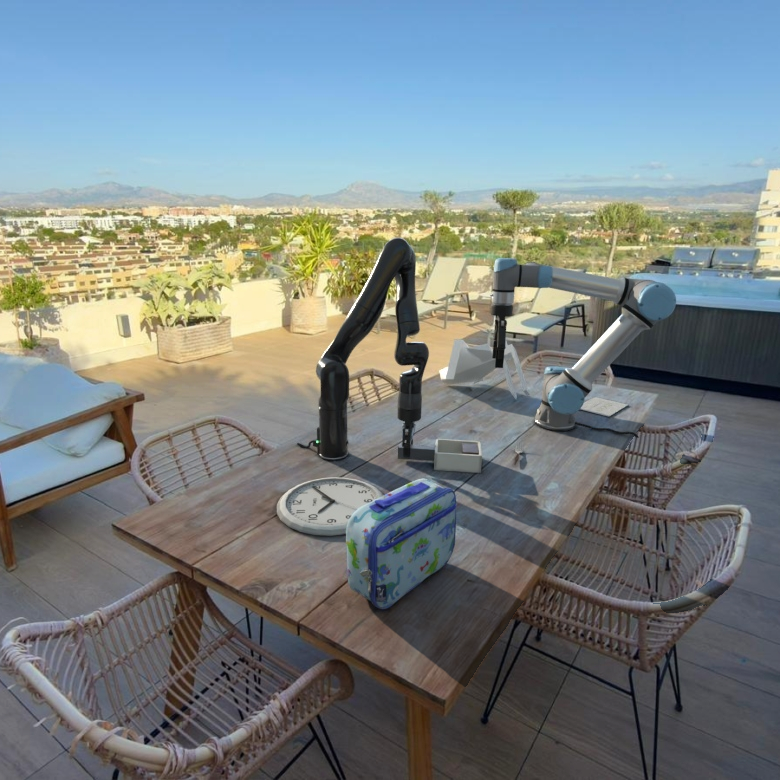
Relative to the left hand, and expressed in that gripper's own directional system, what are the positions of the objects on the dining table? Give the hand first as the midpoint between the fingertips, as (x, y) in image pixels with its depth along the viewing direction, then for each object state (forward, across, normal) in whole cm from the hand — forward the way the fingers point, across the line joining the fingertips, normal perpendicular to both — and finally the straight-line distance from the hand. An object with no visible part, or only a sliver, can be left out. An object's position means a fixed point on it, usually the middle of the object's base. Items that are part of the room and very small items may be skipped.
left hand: (408, 451), depth 170 cm
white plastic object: (+3, -80, +25) cm, 84 cm away
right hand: (-24, -31, +28) cm, 48 cm away
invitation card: (+2, -69, +77) cm, 103 cm away
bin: (+3, -1, +10) cm, 11 cm away
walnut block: (0, -4, +20) cm, 20 cm away
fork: (+3, -9, +36) cm, 37 cm away
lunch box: (+4, +60, +5) cm, 61 cm away
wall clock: (+4, +32, -17) cm, 36 cm away
